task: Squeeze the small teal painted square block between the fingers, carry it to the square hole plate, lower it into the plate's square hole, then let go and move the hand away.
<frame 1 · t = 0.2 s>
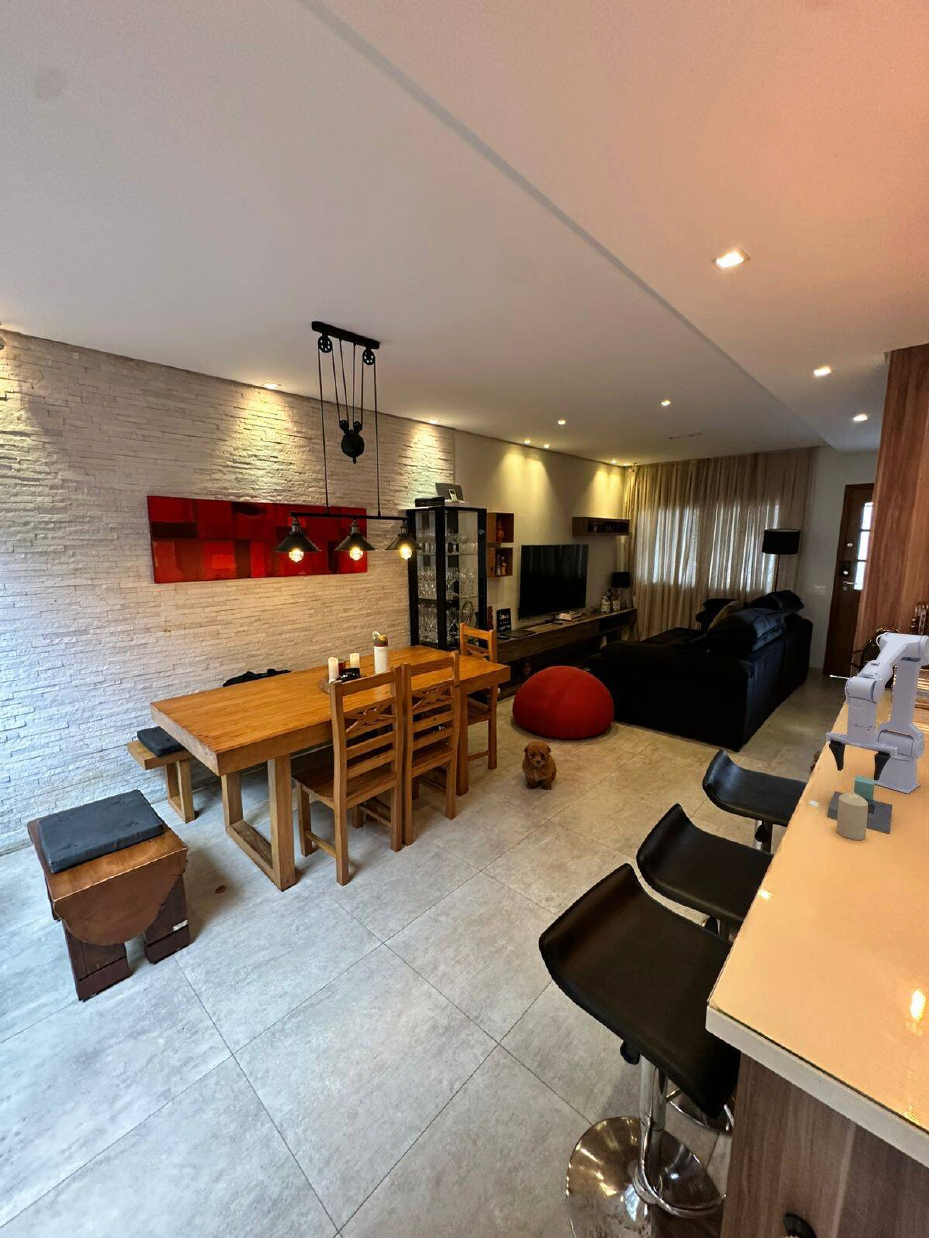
hand: (857, 774, 129), 10 cm above the table, tool pointing down, fingers open, 7 cm apart
square hole plate: (859, 815, 128), on the table
peg block: (863, 801, 135), on the table
candle: (850, 834, 120), on the table
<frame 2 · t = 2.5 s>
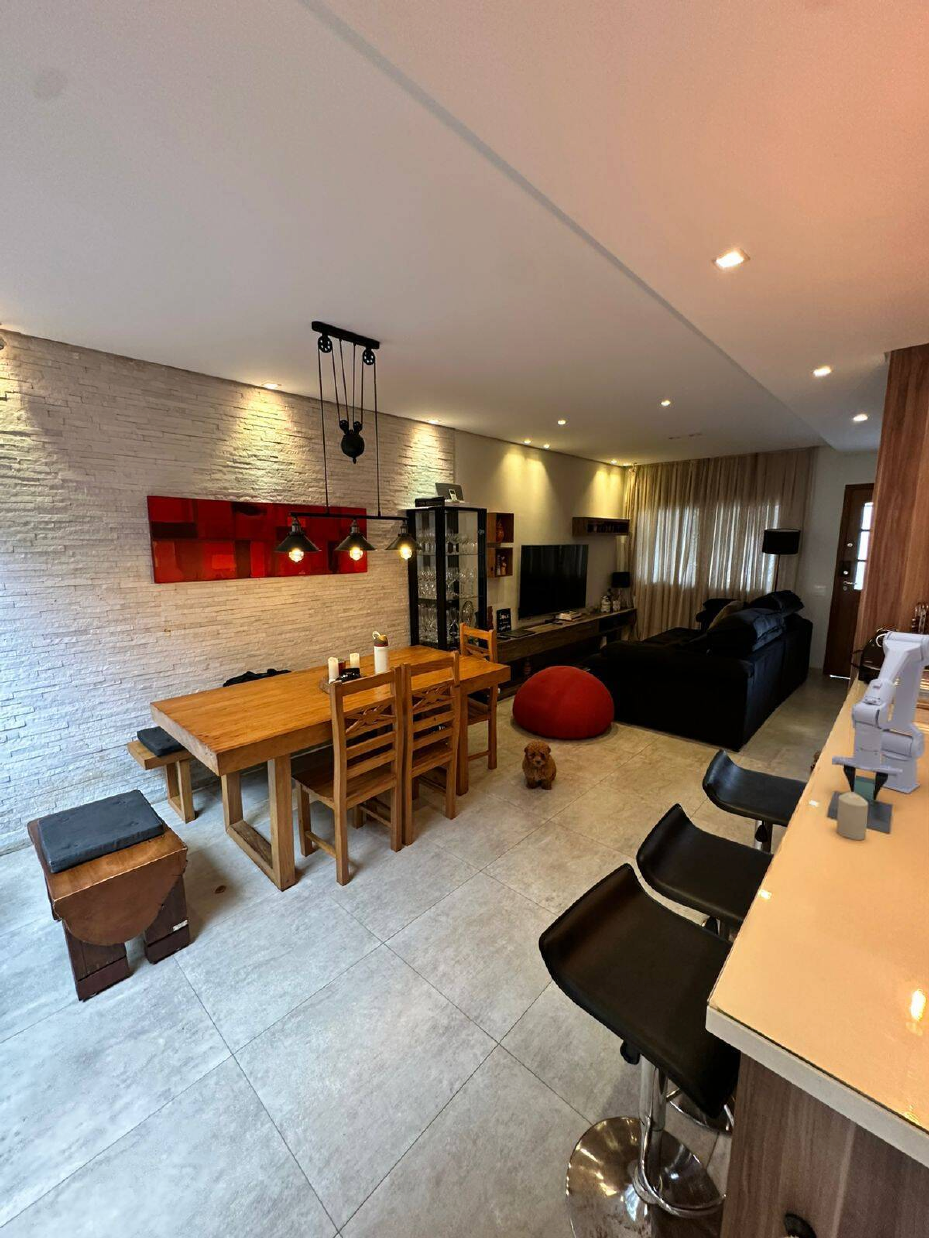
hand: (863, 795, 135), 1 cm above the table, tool pointing down, fingers closed on peg block, 4 cm apart
peg block: (863, 800, 135), on the table, touching gripper
everything else where it was.
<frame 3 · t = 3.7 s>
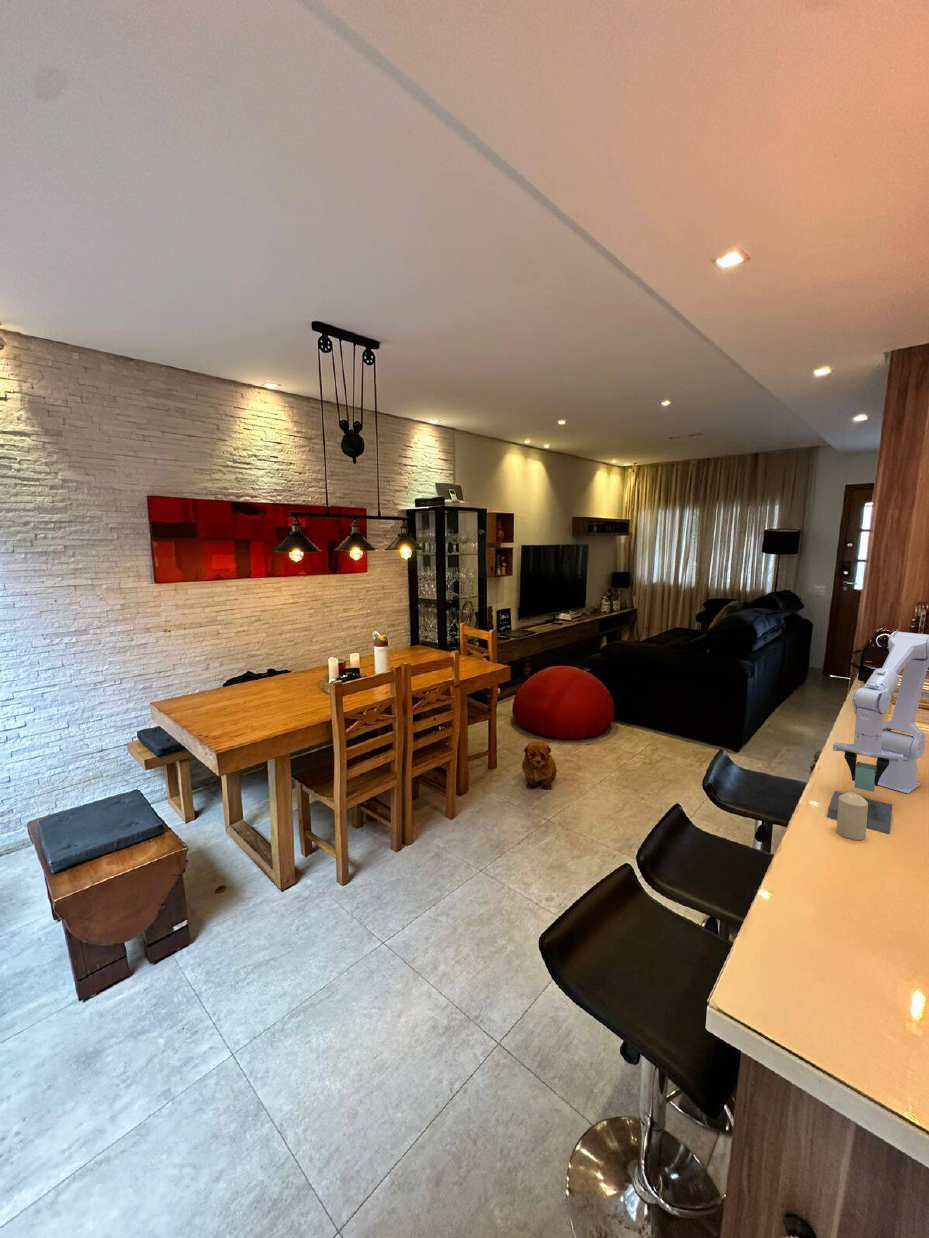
hand: (864, 781, 134), 5 cm above the table, tool pointing down, fingers closed on peg block, 4 cm apart
peg block: (864, 787, 134), point 4 cm above the table, touching gripper
everything else where it was.
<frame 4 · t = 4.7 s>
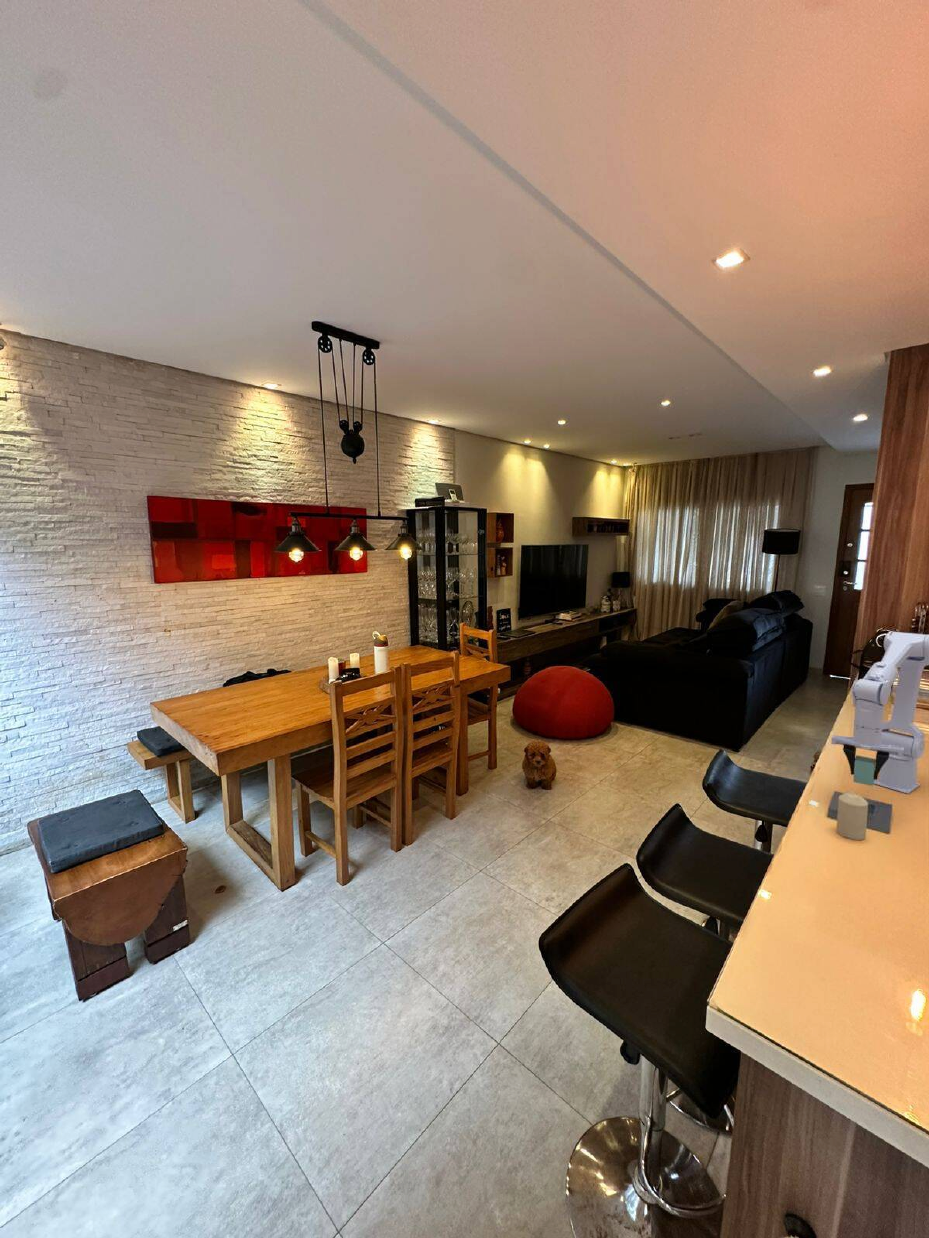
hand: (863, 775, 131), 9 cm above the table, tool pointing down, fingers closed on peg block, 4 cm apart
peg block: (863, 781, 131), point 7 cm above the table, touching gripper
everything else where it was.
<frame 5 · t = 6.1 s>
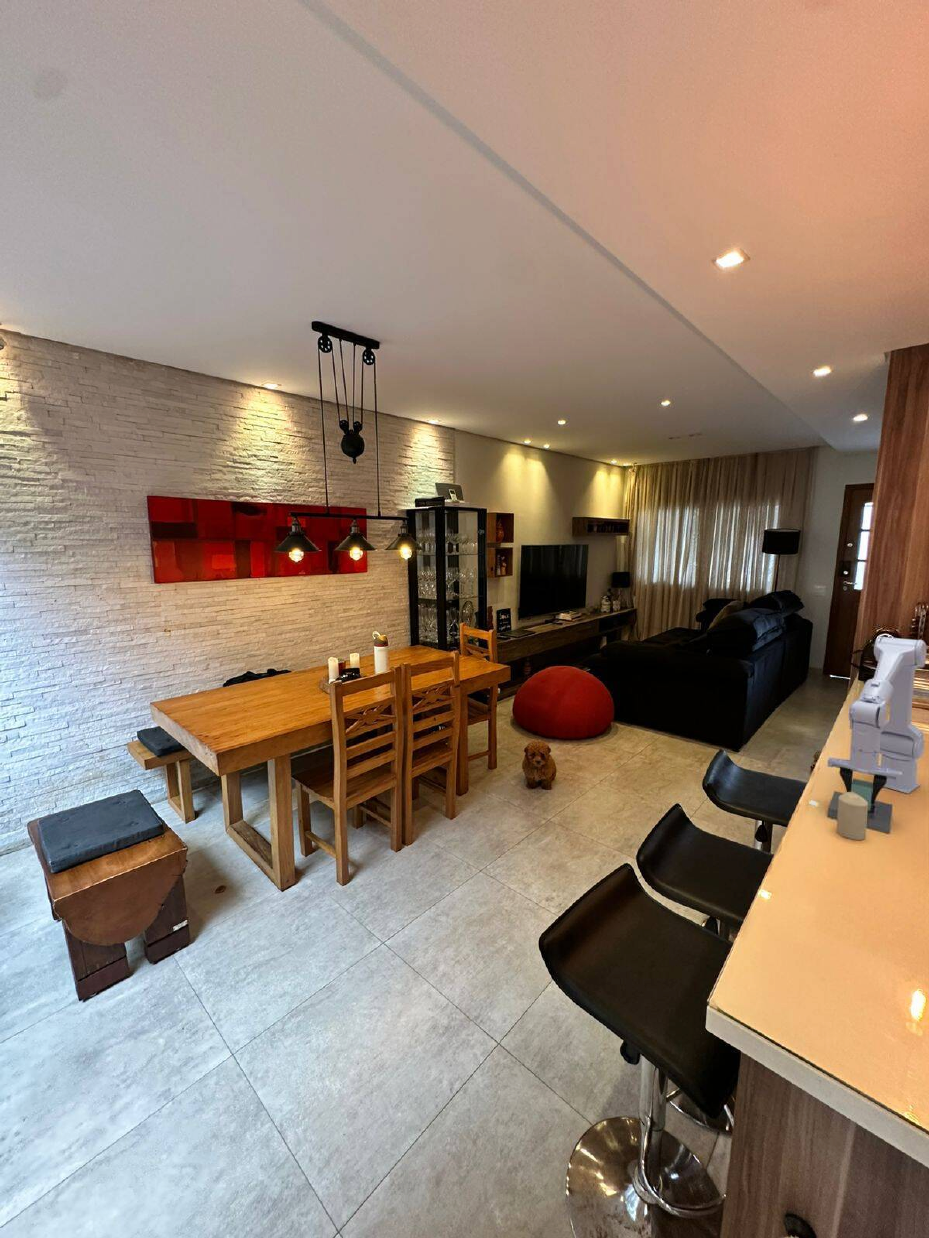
hand: (861, 799, 127), 4 cm above the table, tool pointing down, fingers closed on peg block, 4 cm apart
peg block: (860, 805, 127), point 3 cm above the table, touching gripper
everything else where it was.
when the fingers open (3 cm above the table, at t = 7.1 s): peg block drops 2 cm, resting in square hole plate.
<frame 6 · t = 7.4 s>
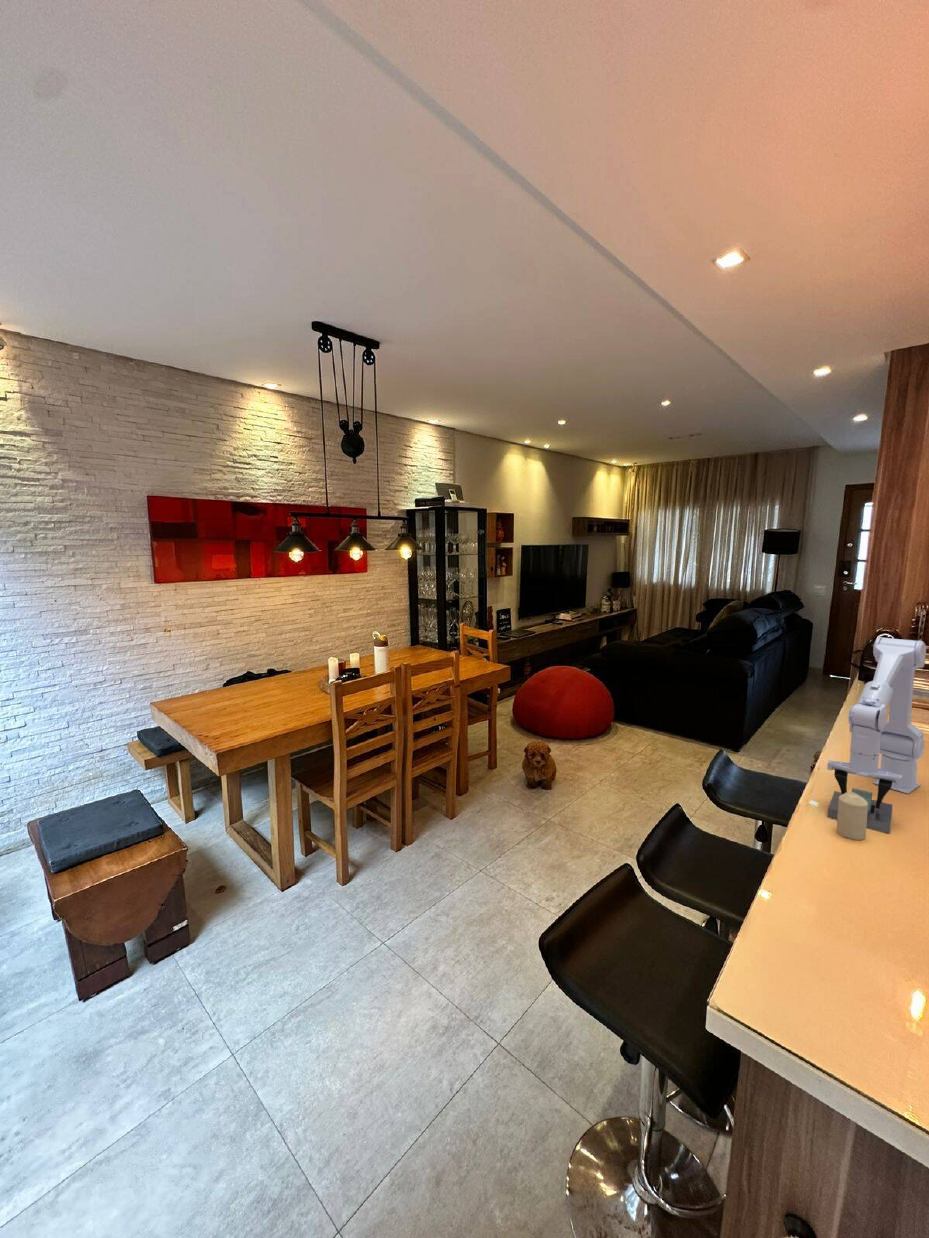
hand: (860, 802, 127), 3 cm above the table, tool pointing down, fingers open, 6 cm apart
peg block: (859, 815, 128), resting in square hole plate
everything else where it was.
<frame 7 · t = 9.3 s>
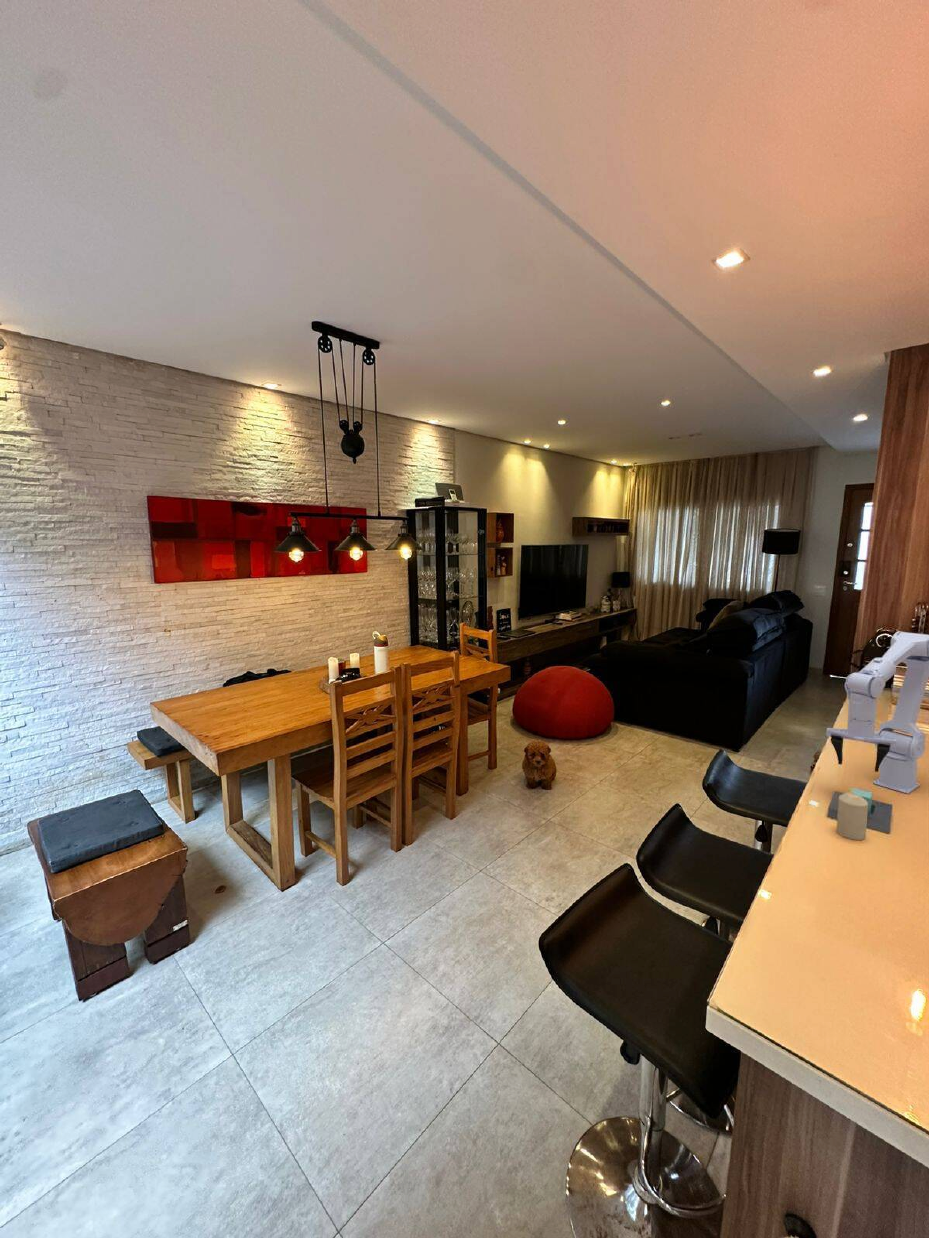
hand: (858, 766, 135), 9 cm above the table, tool pointing down, fingers open, 7 cm apart
nothing on the table moved.
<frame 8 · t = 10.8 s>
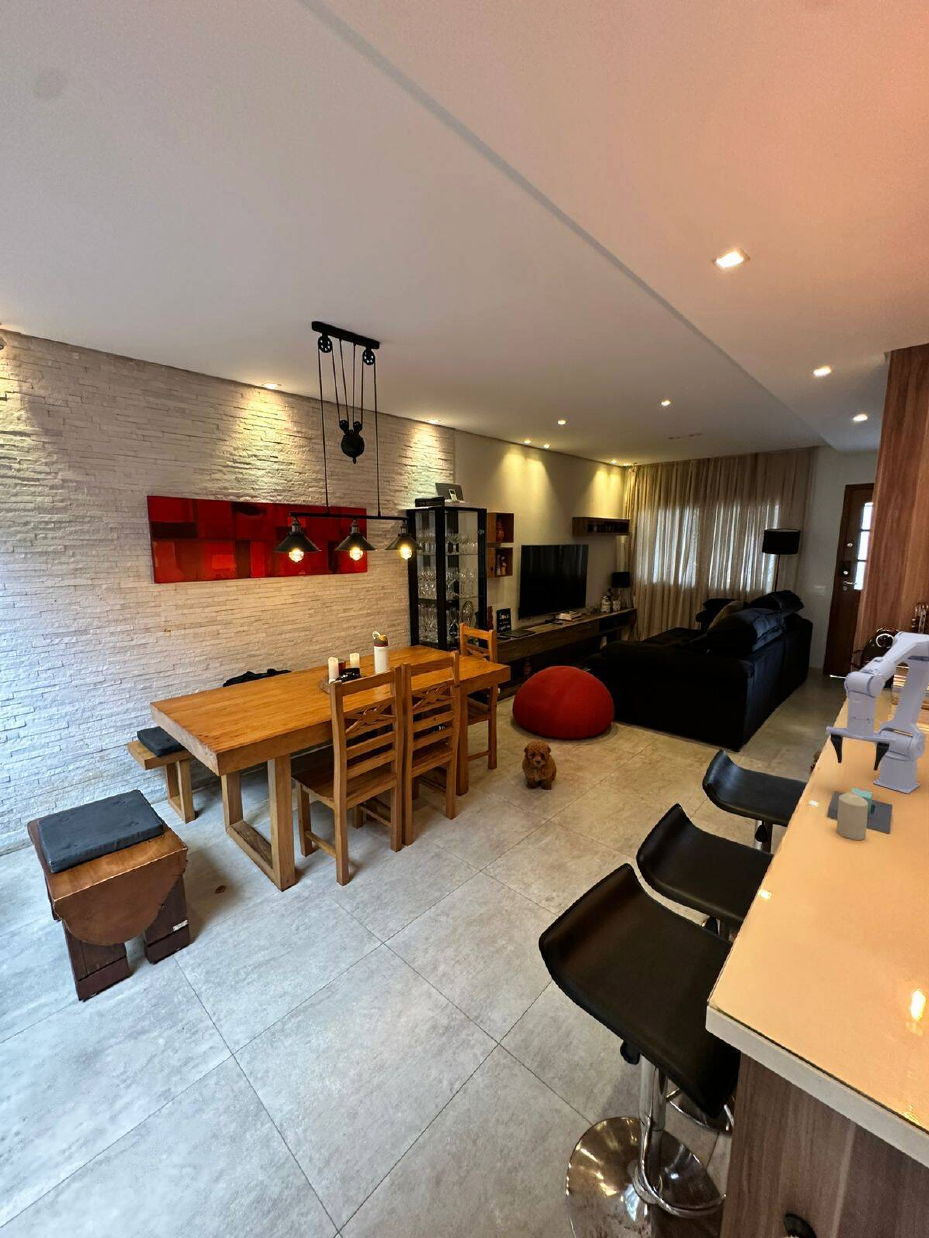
hand: (857, 765, 135), 9 cm above the table, tool pointing down, fingers open, 7 cm apart
nothing on the table moved.
at the end: peg block 0.2 cm off-centre on the square hole plate, point 0.0 cm above the square hole plate's base; peg block tilted 0°; the gripper is holding nothing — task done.
